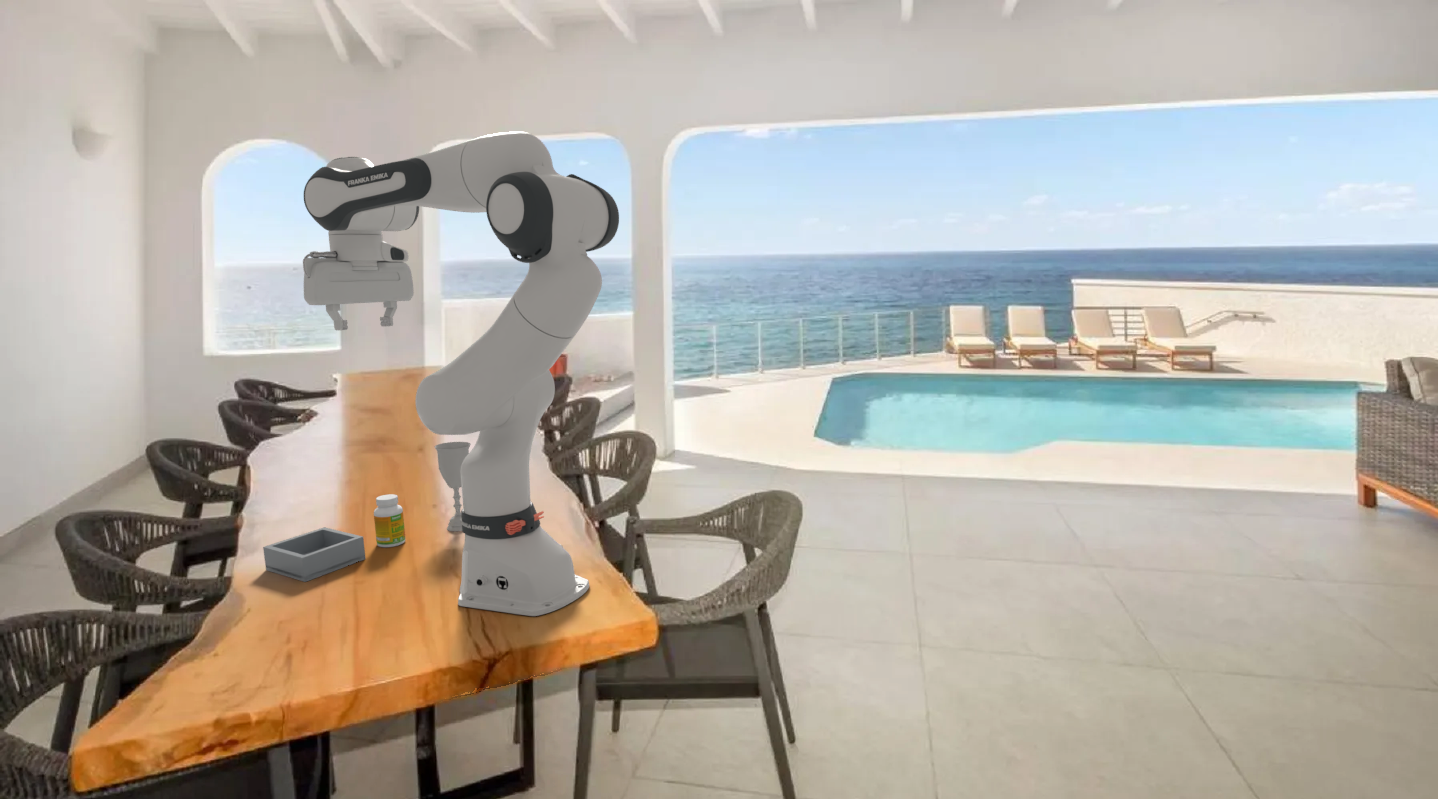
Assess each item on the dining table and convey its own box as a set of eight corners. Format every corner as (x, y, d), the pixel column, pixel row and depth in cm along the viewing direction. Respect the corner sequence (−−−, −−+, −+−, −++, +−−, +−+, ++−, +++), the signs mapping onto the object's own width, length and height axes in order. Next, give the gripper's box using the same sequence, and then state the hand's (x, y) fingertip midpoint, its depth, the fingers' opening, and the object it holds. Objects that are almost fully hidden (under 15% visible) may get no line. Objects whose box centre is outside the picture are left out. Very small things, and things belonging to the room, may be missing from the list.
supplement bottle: (395, 548, 148) (390, 501, 147) (371, 547, 149) (366, 500, 148) (411, 539, 154) (406, 493, 152) (387, 537, 155) (383, 492, 153)
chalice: (436, 532, 157) (428, 449, 154) (448, 522, 164) (441, 441, 161) (470, 532, 157) (463, 449, 154) (481, 521, 163) (475, 441, 160)
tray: (365, 559, 143) (363, 536, 142) (305, 582, 133) (302, 557, 132) (326, 548, 149) (324, 527, 148) (266, 570, 139) (263, 547, 138)
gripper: (313, 250, 125) (322, 333, 128) (415, 252, 143) (421, 324, 145) (291, 251, 128) (300, 332, 131) (393, 252, 146) (400, 324, 148)
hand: (364, 328), depth 138 cm, fingers open, 8 cm apart
